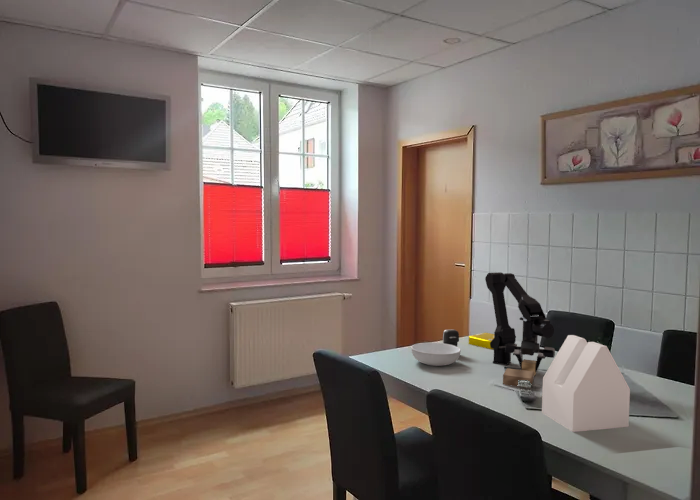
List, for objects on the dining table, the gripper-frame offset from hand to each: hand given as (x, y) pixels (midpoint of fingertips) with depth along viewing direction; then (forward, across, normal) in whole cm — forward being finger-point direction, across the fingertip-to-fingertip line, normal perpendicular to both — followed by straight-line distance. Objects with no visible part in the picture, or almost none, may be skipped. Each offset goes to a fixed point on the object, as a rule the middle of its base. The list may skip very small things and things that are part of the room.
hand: (529, 371), depth 211 cm
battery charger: (+1, -36, +14) cm, 39 cm away
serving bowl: (+1, -38, -3) cm, 38 cm away
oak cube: (+1, 0, 0) cm, 1 cm away
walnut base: (+1, -2, -14) cm, 14 cm away
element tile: (+2, -25, +43) cm, 50 cm away
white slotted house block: (+1, +22, -43) cm, 48 cm away
